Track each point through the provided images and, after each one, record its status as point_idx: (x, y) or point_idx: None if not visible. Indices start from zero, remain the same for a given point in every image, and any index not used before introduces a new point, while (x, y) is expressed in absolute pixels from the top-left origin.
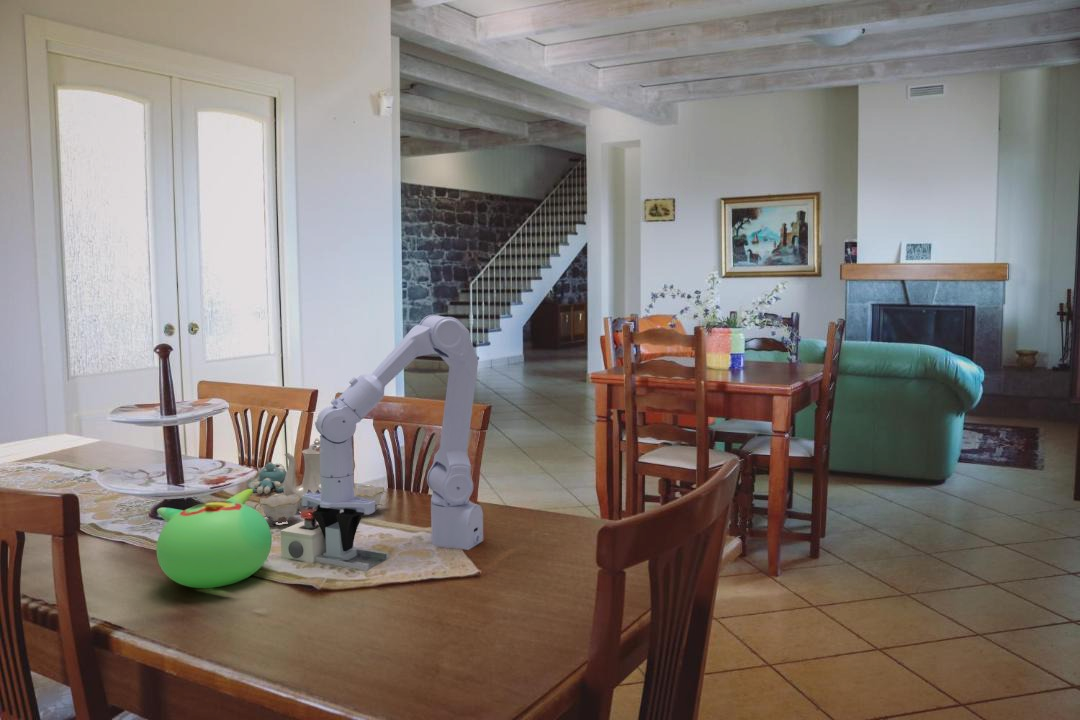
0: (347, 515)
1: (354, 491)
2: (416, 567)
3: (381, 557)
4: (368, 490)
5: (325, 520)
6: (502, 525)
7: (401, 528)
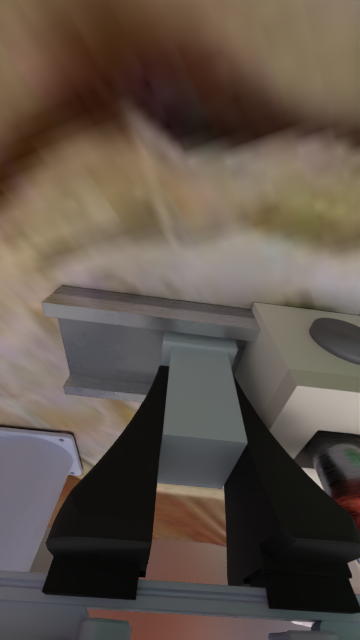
0: (53, 543)
1: None
2: (3, 365)
3: (85, 378)
4: None
5: (256, 486)
6: None
7: (175, 485)
